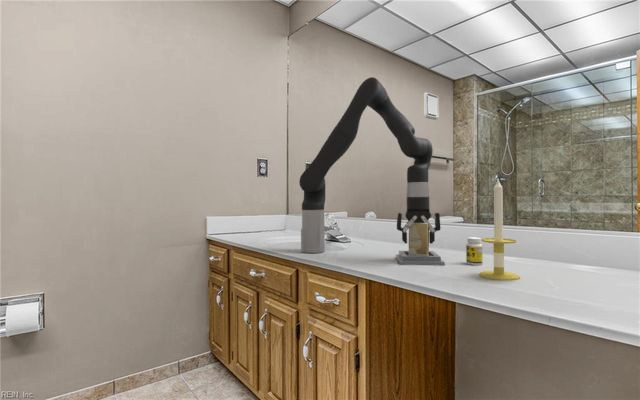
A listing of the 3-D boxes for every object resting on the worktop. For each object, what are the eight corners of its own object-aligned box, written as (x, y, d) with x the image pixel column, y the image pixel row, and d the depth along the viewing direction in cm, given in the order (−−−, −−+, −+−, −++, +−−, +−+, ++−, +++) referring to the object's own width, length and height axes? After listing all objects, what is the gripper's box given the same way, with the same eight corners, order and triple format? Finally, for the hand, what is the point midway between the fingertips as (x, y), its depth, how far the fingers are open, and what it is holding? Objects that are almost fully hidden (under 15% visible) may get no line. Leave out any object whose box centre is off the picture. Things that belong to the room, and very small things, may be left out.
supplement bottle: (463, 263, 110) (462, 237, 110) (473, 261, 112) (473, 236, 112) (475, 265, 106) (474, 239, 106) (485, 264, 108) (485, 238, 108)
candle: (502, 281, 85) (501, 176, 85) (470, 274, 95) (469, 178, 95) (528, 277, 89) (527, 176, 89) (495, 270, 99) (494, 178, 98)
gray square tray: (400, 264, 109) (400, 256, 109) (395, 257, 123) (395, 250, 123) (444, 265, 107) (444, 257, 107) (435, 257, 121) (435, 250, 121)
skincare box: (408, 258, 115) (407, 222, 115) (410, 256, 118) (410, 221, 118) (427, 259, 112) (427, 222, 112) (429, 257, 116) (429, 222, 116)
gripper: (397, 196, 112) (398, 244, 112) (442, 195, 110) (442, 244, 110) (395, 196, 120) (396, 241, 120) (436, 195, 118) (437, 241, 118)
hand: (418, 243), depth 115 cm, fingers open, 8 cm apart
